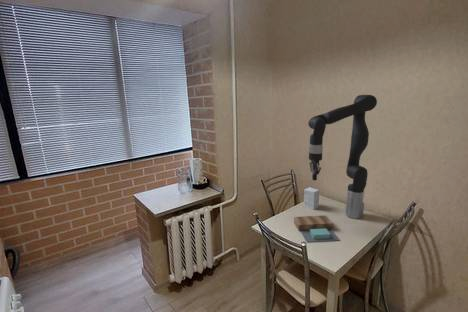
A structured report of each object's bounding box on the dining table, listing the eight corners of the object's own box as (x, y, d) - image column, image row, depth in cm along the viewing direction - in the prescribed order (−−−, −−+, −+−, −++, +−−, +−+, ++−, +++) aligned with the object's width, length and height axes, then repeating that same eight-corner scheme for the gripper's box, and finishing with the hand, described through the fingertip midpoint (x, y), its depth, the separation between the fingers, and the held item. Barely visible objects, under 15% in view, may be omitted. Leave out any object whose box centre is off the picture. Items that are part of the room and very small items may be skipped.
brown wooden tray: (325, 221, 154) (326, 215, 153) (332, 229, 144) (333, 223, 143) (293, 222, 153) (294, 216, 153) (298, 231, 144) (298, 224, 143)
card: (330, 234, 134) (330, 238, 135) (325, 228, 140) (325, 232, 141) (313, 235, 134) (313, 239, 135) (310, 229, 140) (309, 233, 141)
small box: (318, 207, 173) (319, 189, 170) (313, 210, 169) (314, 192, 166) (308, 203, 179) (309, 186, 176) (303, 206, 176) (304, 189, 173)
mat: (331, 230, 144) (331, 229, 144) (340, 240, 133) (340, 240, 133) (300, 231, 143) (300, 231, 143) (306, 242, 133) (306, 241, 132)
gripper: (326, 153, 138) (324, 183, 142) (317, 149, 151) (316, 176, 155) (313, 154, 138) (312, 184, 142) (305, 149, 151) (304, 176, 155)
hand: (314, 179), depth 149 cm, fingers closed
